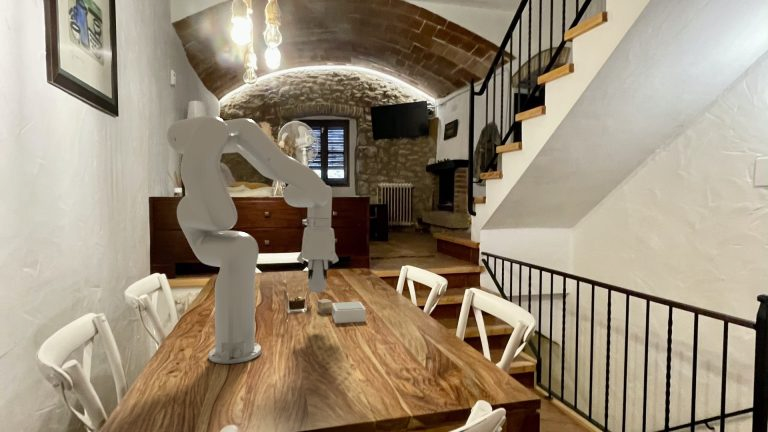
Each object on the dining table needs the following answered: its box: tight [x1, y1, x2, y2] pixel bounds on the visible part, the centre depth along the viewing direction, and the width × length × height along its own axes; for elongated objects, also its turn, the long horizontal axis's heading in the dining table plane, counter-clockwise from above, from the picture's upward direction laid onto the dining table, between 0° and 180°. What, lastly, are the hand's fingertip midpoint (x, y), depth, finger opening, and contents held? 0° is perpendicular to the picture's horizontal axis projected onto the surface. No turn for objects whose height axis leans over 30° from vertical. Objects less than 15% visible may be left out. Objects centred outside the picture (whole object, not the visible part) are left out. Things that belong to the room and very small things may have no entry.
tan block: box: [316, 298, 334, 315], centre depth 144 cm, size 4×4×4 cm
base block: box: [331, 301, 367, 324], centre depth 137 cm, size 10×10×4 cm
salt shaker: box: [307, 260, 327, 293], centre depth 130 cm, size 6×6×13 cm
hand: (317, 281), depth 130 cm, fingers closed on salt shaker, 3 cm apart
